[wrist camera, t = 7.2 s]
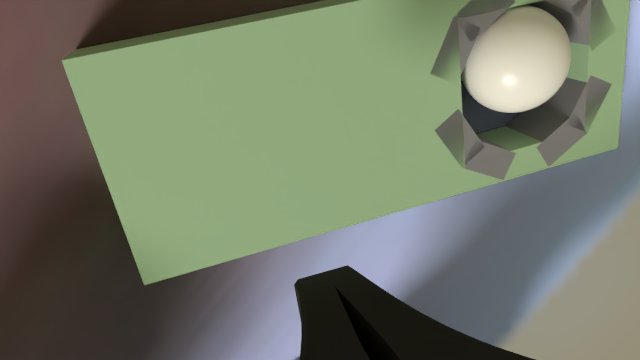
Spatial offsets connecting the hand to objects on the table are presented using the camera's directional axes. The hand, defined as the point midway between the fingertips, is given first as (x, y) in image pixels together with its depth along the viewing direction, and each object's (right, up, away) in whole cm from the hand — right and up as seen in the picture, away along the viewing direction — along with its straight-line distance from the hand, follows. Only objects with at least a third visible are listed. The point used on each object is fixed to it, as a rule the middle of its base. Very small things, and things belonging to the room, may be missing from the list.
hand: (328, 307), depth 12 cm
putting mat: (+2, +6, +9) cm, 11 cm away
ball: (+7, +8, +7) cm, 13 cm away
